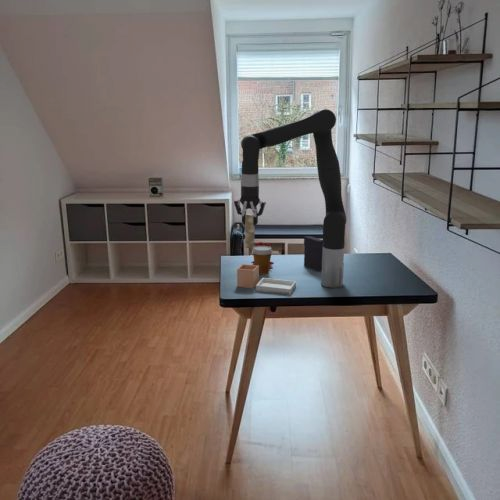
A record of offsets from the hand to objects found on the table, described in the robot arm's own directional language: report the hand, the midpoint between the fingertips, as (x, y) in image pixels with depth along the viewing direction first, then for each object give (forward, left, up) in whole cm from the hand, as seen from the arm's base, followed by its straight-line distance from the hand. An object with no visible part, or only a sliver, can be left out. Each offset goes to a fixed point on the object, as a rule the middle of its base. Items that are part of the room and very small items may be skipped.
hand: (249, 224), depth 214 cm
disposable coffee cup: (0, -19, -27) cm, 33 cm away
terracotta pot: (+1, 0, -27) cm, 27 cm away
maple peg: (0, 0, -10) cm, 10 cm away
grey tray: (-12, +1, -27) cm, 30 cm away
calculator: (-22, -34, -27) cm, 49 cm away
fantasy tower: (+3, -30, -27) cm, 41 cm away
